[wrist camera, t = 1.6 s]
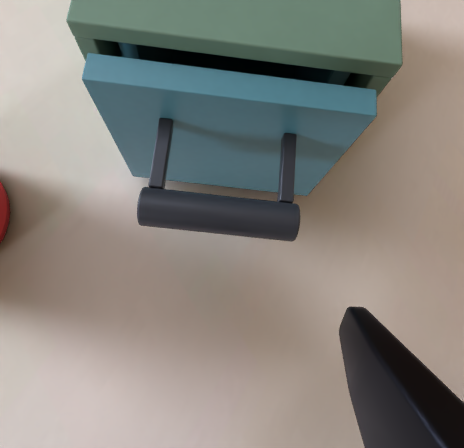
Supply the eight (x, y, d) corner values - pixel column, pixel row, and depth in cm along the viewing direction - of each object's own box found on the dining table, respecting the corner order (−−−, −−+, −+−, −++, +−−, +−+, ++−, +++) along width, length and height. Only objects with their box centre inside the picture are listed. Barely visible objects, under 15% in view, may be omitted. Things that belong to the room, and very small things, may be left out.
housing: (312, 177, 25) (403, 65, 13) (130, 156, 24) (65, 20, 13) (319, 7, 28) (394, -194, 17) (160, -15, 28) (130, -239, 16)
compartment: (304, 268, 22) (378, 235, 13) (120, 249, 22) (53, 200, 12) (314, 26, 27) (374, -132, 17) (162, 5, 26) (137, -170, 17)
